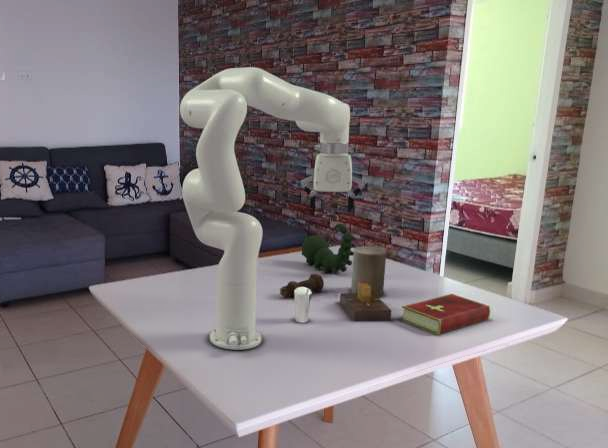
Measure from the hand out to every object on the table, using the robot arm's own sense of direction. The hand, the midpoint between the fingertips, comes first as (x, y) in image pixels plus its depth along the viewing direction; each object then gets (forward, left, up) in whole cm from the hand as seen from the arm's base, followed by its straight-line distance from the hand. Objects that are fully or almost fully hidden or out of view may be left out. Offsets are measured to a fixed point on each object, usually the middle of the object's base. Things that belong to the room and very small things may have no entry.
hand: (331, 211), depth 157 cm
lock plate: (-5, -10, -28) cm, 30 cm away
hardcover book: (-12, -30, -28) cm, 42 cm away
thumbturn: (-4, -10, -25) cm, 27 cm away
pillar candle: (+11, -16, -28) cm, 34 cm away
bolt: (+10, +5, -28) cm, 30 cm away
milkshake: (-12, +9, -28) cm, 32 cm away
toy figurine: (+37, -9, -28) cm, 47 cm away
